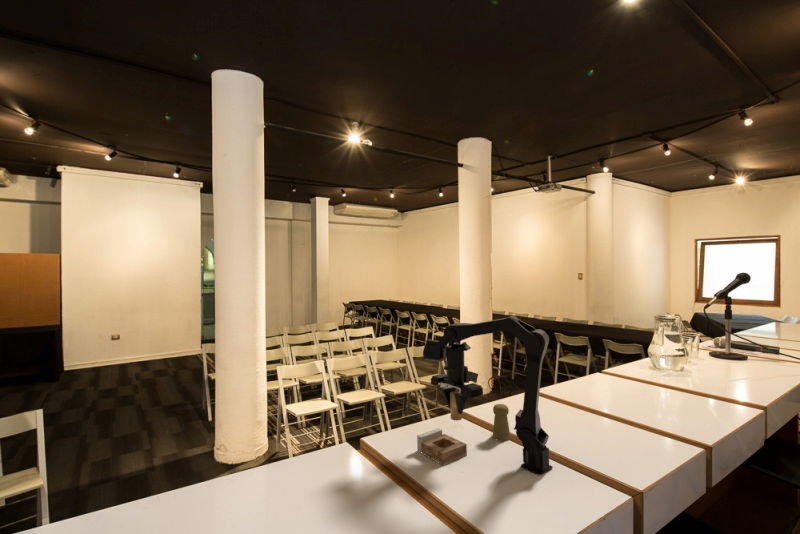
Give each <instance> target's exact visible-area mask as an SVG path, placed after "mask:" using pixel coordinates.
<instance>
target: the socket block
mask: <svg viewBox="0 0 800 534" xmlns="http://www.w3.org/2000/svg"><path fill="white" fill-rule="evenodd" d="M467 448H468V447H467V443H466V442H463V441H460V440H458V439H456V438H454V437H452V436H450V435H448V434H445V433H442V435H440V436H437V437H434V438H432V439H429V440H426V441H423V442H421V452H422V453H423V454H422V453H421V454H422V455H424V454H425V455H427V456H429V457H430V458H429V457H428V458H429V459H431V458H432V459H434V460H435V461H434V460H433V461H434V462H436V461H437V463H438V462H439V463H438V464H440V465H441V464H442V465H441V466H445V465H448V464H450V463H452V462H454V460H455V461H457V460H460V459H462V458H465V457H466V456H467V455H468V451H467V450H468V449H467ZM425 455H424V456H425ZM427 456H426V457H427ZM461 457H462V458H461ZM459 458H460V459H459ZM432 459H431V460H432ZM456 459H457V460H456ZM449 462H450V463H449ZM447 463H448V464H447ZM444 464H445V465H444Z"/></svg>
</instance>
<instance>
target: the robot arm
mask: <svg viewBox="0 0 800 534" xmlns="http://www.w3.org/2000/svg"><path fill="white" fill-rule="evenodd" d="M501 332H510V333H511V334H512V335H513V336H514V337H515V338H516V339H517V340H519V342H521V343H523V344H524V354H525V359H526V361H527V362H526V372H525V383H524V395H523V396H524V397H523V404H522V405H523V407H522V409H519V410H518V412H517V413H516V414H515V418H514V419H515V425H514V428H513V430H515V435H516V437H517V438H518V440H520V441H521V444H522V446H523V447H522V464H520V467H521V468H523V469H525V470H527V471H529V472H532V473H533V474H536V475H538V476H542V475H544V474H545V473H547V472H549V471H551V470H553V466H552V465H550V450H549V447H547V445H546V444H547V443H548V440H549V437H550V436H549V435H548V433H547V432H546V431H545V430H544V429H543V428H542V425H541V416H540V412H539V400H540V391H541V380H542V379H541V377H542V368H543V361H544V358H545V355H546V352H547V350H548V346H549V342H550V337H549V334H547V332H546V331H545V330H543V329H537V328H535V327H534V326H532V325H530V324H528V323H526V322H525V321H523V320H521V319H520V318H518V317H517V316H514V315H511V316H508V317H503V318H499V319H498V318H497V319H492V320H487V321H481V322H476V323H469V322H455V323H452V324H449V325H447V326H445V328H444V329H443V335H442V336H441V338H440V339H439V340H434V339H432V338H431V339H426V340H425V344H424V346H423V350H422V357H423V359H424V360H425V361H433V362H441V363H442V362H443V361H444V360H445V359H446V360H445V361H446V362H445V363H446V364H445V365H444V366H443V371H446V374H445V373H440V374H434V375H432V376H431V378H430V385H432V386H434V387H437V386H440V387H438V390H439V391H440V393H441V395H442V396H443V398H444V401H445V403H446V404H447V406H448V408H449V410H450V411H451V407H450V393H451V392H456V391H457V390H459V391H458V392H459V393H456V394H454V395H455V400H456V404H457V409H458V413H459V414H462V415H463V411H464V410H465V409H464V408H465V406H466V403H467V400H468V399H472V398H476V397H479V396H482V395H484V387H482V385H480V384H478V379H479V378H478V377H479V373H477V372H473V371H470V370H469V368H468V366H467V365H465V352H467V351H469V350H471V346H470V345H469V344H468V343H467V342H466V341H464V342H462V343H459V342H461V341H463V340H466V339H469V338H473V337H476V336H483V335H488V334H489V335H490V334H494V333H496V334H497V333H501ZM449 344H452V345H449ZM470 382H472V383H470Z"/></svg>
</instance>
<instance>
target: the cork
mask: <svg viewBox="0 0 800 534" xmlns="http://www.w3.org/2000/svg"><path fill="white" fill-rule="evenodd" d="M492 409H493V410H492V411H493V414H494V420H493V429H492V438H493V439H494V440H496V441H500V442H501V441H502V442H506V441H509V440H511V437H512V436H511V432H510V425H509V420H508V415H509V411H510V410H509V406H507V405H506V404H504V403H497V404H494V405H493V407H492Z"/></svg>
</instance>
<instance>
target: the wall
mask: <svg viewBox="0 0 800 534" xmlns="http://www.w3.org/2000/svg"><path fill="white" fill-rule="evenodd" d="M440 435H443V429H441V428H439V427H438V428H435V429H431V430H430V431H426V432H423V433H420V434H417V436H416V437H417V439H416V441H417V442H416V443H417V446H416V447H417V452H418V451H420V452H421V442H423V441H426V440H429V439H432V438H434V437H437V436H440ZM420 452H419V453H420Z"/></svg>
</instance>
